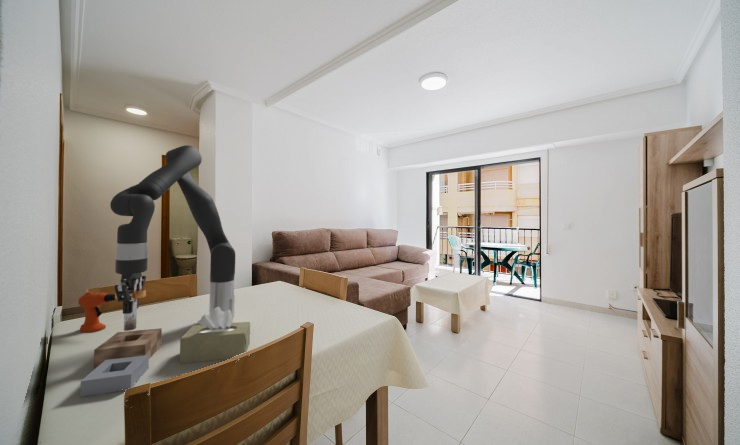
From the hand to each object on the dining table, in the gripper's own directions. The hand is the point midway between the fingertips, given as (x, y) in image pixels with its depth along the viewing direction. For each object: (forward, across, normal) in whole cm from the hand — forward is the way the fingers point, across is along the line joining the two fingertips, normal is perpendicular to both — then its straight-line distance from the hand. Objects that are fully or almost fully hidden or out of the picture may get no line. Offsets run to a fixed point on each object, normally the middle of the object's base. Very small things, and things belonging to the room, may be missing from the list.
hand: (130, 311), depth 83 cm
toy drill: (+15, +26, +19) cm, 35 cm away
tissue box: (+15, -4, -26) cm, 30 cm away
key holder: (+15, -14, -4) cm, 21 cm away
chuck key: (+6, 0, 0) cm, 6 cm away
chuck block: (+15, 0, 0) cm, 15 cm away
